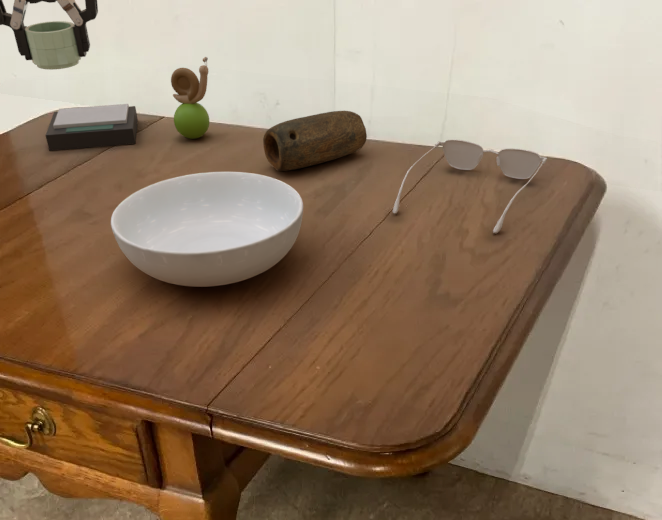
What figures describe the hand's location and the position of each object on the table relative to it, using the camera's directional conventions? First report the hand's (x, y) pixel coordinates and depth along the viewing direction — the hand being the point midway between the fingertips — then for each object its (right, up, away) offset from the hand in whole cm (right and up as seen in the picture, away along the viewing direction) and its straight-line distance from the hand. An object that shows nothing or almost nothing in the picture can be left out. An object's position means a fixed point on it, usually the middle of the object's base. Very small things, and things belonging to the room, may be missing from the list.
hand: (56, 56), depth 101 cm
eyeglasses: (+54, -19, 0) cm, 57 cm away
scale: (-1, -3, +22) cm, 22 cm away
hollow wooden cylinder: (+34, -11, +11) cm, 37 cm away
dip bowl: (0, -1, +1) cm, 1 cm away
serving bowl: (+23, -30, -13) cm, 40 cm away
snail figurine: (+15, -4, +20) cm, 25 cm away
